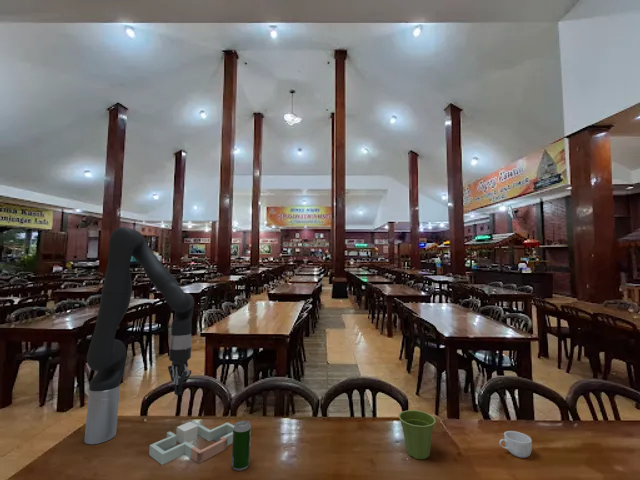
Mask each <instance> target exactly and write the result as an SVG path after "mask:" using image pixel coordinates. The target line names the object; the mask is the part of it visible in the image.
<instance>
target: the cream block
mask: <svg viewBox="0 0 640 480" xmlns="http://www.w3.org/2000/svg"><path fill="white" fill-rule="evenodd" d="M197 431H198V426H197V425H196V424H194V423H192V421H188V422H186V423H185V422H184V423H182V424H180V425H179V426H176V432H175V433H176V434H175V435H177V442H178V443H180V444H182V443H184V442H186V441H187V442H188V443H191V442H194V441H196V440H197V439H198V435H197Z"/></svg>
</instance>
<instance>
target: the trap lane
mask: <svg viewBox="0 0 640 480" xmlns="http://www.w3.org/2000/svg"><path fill="white" fill-rule="evenodd" d="M191 422H192V421H191ZM192 423H194V424H196V425H197V426H198V431H197V437H200V438H202V439H204V440H206V441H207V442H211V441H214V442H213V444H210V445H207V446H206V447H205V448H202V449H200V448H198V447H196V446H194V445H193V444H192V443H191V442H189V443H188V442H187V441H186V442H184V443H182V444H181V443H180V444H177V442H178V441H177V435H176V434H175V433H174V432H172V431H167V432H166V438H163V439H161V440H159V441H156V442H154V443H152V444H149V450H148V451H149V452H148V453H149V454H148V455H149V457H151V458H152V459H154V460H155V461H156V462H157V463H159V464H160V465H162V466H163V465H165V464H167V463H169V462H171V461H173V460H175V459H177V458H179V457H181V456H183V455H185V456H187V457H188V458H189V459H191V460H192V461H194V462H195V463H197V464H200V463H202V462H205V461H206V460H208V459H210V458H212V457H215V456H216V455H218V454H220V453H222V452H224V451H226V450H227V449H228V446H230V445H231V444H232V445H233V428H234V424H232V423H230V422H228V421H227V422H225V423H222V424H221V425H218V426H216V427H214V428H212V429H209V428H207V427H206V426H204V425H202V424H200V423H198V422H196V421H193V422H192Z"/></svg>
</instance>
